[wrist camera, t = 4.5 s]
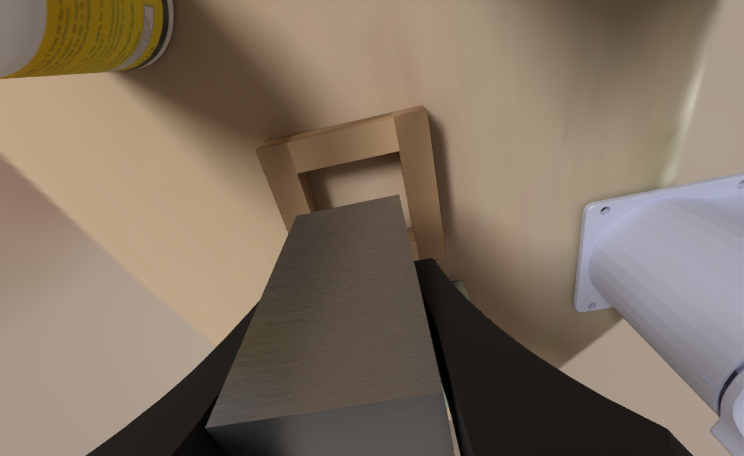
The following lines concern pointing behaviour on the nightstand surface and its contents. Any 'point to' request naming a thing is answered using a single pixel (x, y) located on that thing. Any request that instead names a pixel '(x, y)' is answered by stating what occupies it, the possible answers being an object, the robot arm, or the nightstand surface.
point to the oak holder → (358, 142)
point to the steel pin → (337, 347)
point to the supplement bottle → (81, 36)
